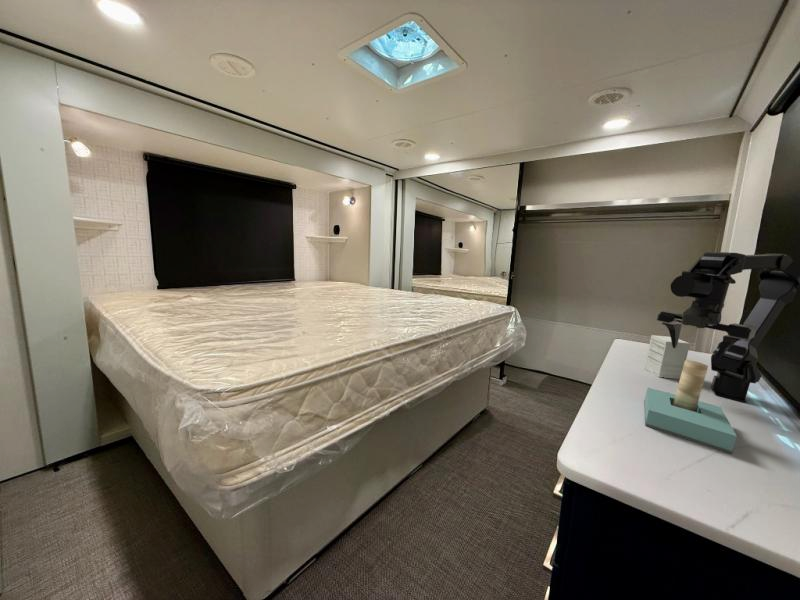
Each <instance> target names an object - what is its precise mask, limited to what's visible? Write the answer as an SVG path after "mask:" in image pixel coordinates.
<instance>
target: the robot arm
mask: <svg viewBox="0 0 800 600" xmlns="http://www.w3.org/2000/svg"><path fill="white" fill-rule="evenodd" d="M770 269H774V270H772V271H770ZM776 269H777V270H776ZM778 269H779V270H780V271H779V270H778ZM745 270H759V271H758V272H757V274H756V277H757V278H758V280H759V282H760V284H759V285H758V289H759V293H760V298H759V299H758V301H757V302H756V304H755V305H754V307H753V309H752V310H751V312H750V313H749V315H748V316H747V318H746V319H745V321H744V322H743V324H742V323H741V324H740V323H729V324H725V323H721V320H722V311H723V308H724V307H725V301H726V297H727V294H728V290H729V287H730V284H731V285H732V284H736V280H735V279H734V278H733V277H732V275H736V274H741V273H742V272H743V271H745ZM799 284H800V264H798V263H796V261H794V260H793V258H792V257H791V255H787V254H785V253H764V254H743V253H738V252H729V251H728V252H727V251H726V252H723V251H706V252H704V253H703V255H701V257H699V258H698V259H697V260H696V262H695V263H694V264H693V265H692V266H691V267H690V269H688V271H685V270H682V272H681V275H679V276H677V277H675V278H674V279H673V280H672V282H671V283H670V291H671V293H672V294H673V295H675V296H676V297H681V298H691V299H692V298H693V299H694V300H693V301H692V302H691V305H690V306H689V308H686V310H684V311H683V312H682V313H681V312H675V311H670V310H664V311H660V312H659V313H658V314H657V318H656V321H658V322H661V324H662V325H664V326H665V327H667V328H666V329H667V330H668V332H669V337H671V341H672V346H673V348H676V346H677V344H678V340H679V339H680V334H681V330H682V325H684V326H691V327H696V328H697V329H698V328H699V329H705V328H706V329H711V330H716V331H721V332H726V333H727V335H723V336H722V341H720V342H719V343H718V345H717V347H716V348H715V349H714V351H712V354H711V356H710V367H711V369H710V370H711V371H713V372H717V373H716V375H714V376H713V378H712V382H711V385H710V389H711V390H712V392H713V394H714V395H715V396H718V397H723V398H726V399H731V400H735V401H737V402H742V403H748V400H747V399H746V398H747V394H748V392H749V387H750V385H751V384H757V383H759V381H760V380H761V378H762V374H761V372H760V370H759V368H758V366H757V363H758V362H759V357H758V352H757V348H758V347H759V345H760V344H761V342H762V341H763V339H764V338H765V336H766V335H767V333H768V332H769V330H770V328H771V327H772V325H773V324H774V322H776V320H777V318H778V317H779V315H780V314H781V312H782V310H783V309H784V308H785V306H786V305H787V304H789V303H792V302H794V301H793V299H794V296H795V294H796V291H797V285H799Z"/></svg>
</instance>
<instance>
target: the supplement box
mask: <svg viewBox="0 0 800 600" xmlns="http://www.w3.org/2000/svg"><path fill="white" fill-rule="evenodd" d="M690 345H691V343H690V342H687V341H684V340H682V339H680V338H679V340H678V344H677V346H676V348H673V346H672V341H671V336H664V335H655V334H654V335H653V334H651V336H650V341H649V346H648V349H647V354H646V357H645V363H644V367H643V368H644V370H645V369H646V370H645V371H647V370H648V371H647V372H649V371H650V372H651V373H650V372H649V373H650V374H652V373H653V374H652V375H654V374H655V375H654V376H656V375H657V376H658V378H663V377H664V379H665V378H666V379H675V380H680V377H681V373H682V370H683V366H684V362H685V360H687V357H688V353H689V349H690ZM657 376H656V377H657Z"/></svg>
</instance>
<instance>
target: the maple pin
mask: <svg viewBox="0 0 800 600" xmlns="http://www.w3.org/2000/svg"><path fill="white" fill-rule="evenodd" d="M708 367H709V365H707V364H705V363H702V362H699V361H695V360H687V359H686V360H685V362H684V366H683V370H682V373H681V377H680V379H679V382H678V386H677V390H676V392H675V395H676V396H675V400H674V404H673V406H676V407H680V408H683V409H687V410H690V411H694V412H695V411H696V408H697V404H698V401H700V397H701V394H702V393H701V392H702V389H703V387H704V382H705V378H706V376H707V371H708V369H709V368H708Z"/></svg>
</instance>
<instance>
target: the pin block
mask: <svg viewBox="0 0 800 600" xmlns="http://www.w3.org/2000/svg"><path fill="white" fill-rule="evenodd" d="M675 396H676V394H673V393H670V392H667V391H662V390H659V389H655V388H653V387H647V388H646V392H645V396H644V397H645V398H644V401H643V402H644V405H643V406H644V426H646V427H649V428H651V429H654V430H658V431H660V432H663V433H666V434H670V435H672V436H677V437H679V438H682V439H685V440H688V441H691V442H695V443H697V444H701V445H704V446H706V447H710V448H713V449H716V450H719V451H722V452H725V453H728V454H733V450H734V446H735V443H736V440H737V437H738V436H737V434H736V432H735V430H734V429H733V427H732V425H731V423H730V421H729V419H728V418H727V416H726V414H725V413H724V410H723V408H722V407H721V406H719V405H715V404H712V403H708V402H705V401H701V400H699V401H698V404H697V408H696V411H695V412H694V411H690V410H687V409H683V408H680V407H676V406H673V404H674V400H675Z"/></svg>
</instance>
